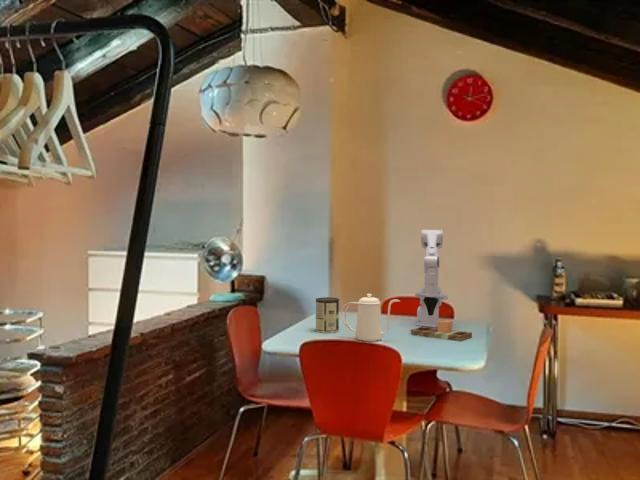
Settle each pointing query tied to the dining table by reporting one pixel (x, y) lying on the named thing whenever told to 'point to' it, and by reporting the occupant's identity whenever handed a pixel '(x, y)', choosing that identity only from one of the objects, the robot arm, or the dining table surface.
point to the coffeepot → (369, 319)
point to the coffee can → (327, 315)
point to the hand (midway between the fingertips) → (430, 315)
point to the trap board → (441, 334)
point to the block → (444, 326)
